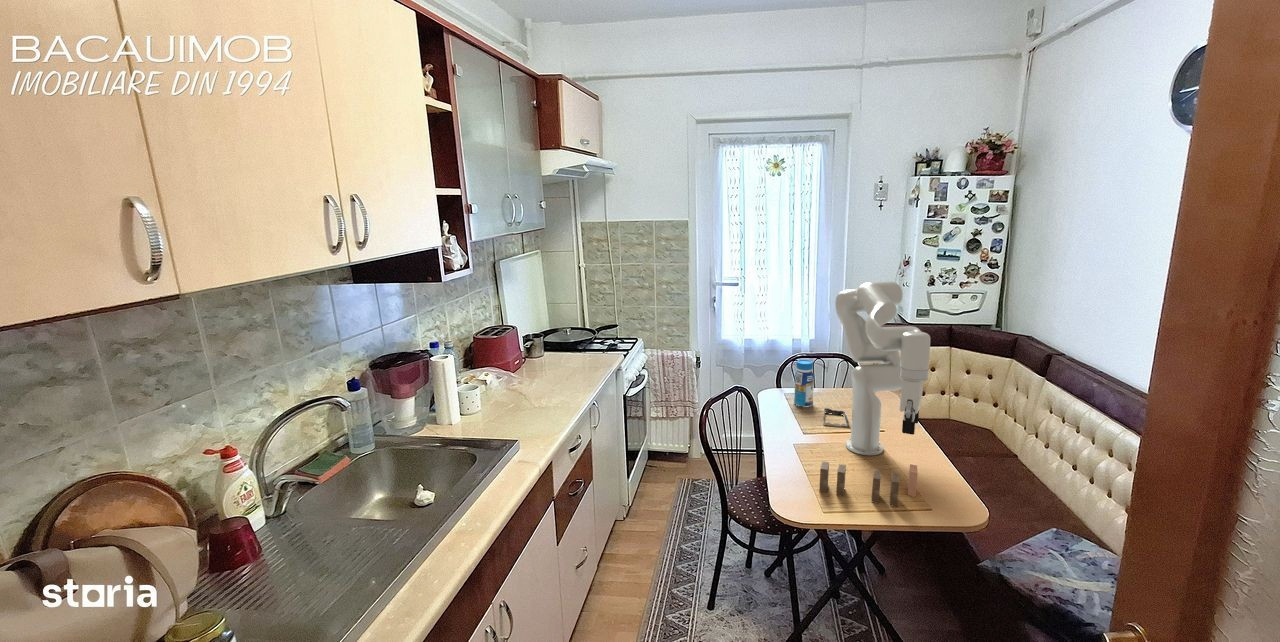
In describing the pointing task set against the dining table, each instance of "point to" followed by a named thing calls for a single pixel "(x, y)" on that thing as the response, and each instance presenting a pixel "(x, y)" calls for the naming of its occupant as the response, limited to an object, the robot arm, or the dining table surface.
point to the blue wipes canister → (804, 383)
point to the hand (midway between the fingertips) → (910, 427)
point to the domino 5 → (912, 480)
